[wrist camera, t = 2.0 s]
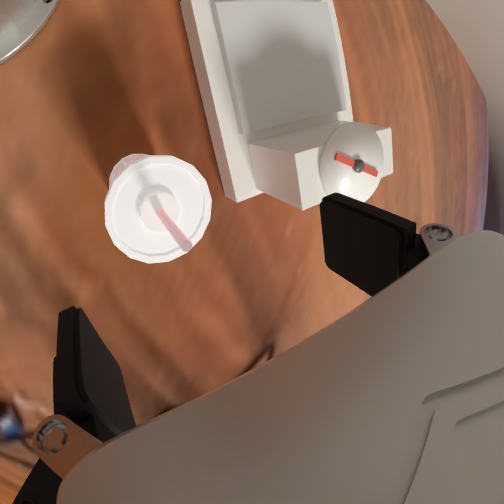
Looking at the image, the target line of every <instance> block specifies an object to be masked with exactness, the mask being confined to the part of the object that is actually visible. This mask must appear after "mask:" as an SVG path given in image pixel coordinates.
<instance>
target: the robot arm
mask: <svg viewBox="0 0 504 504" xmlns="http://www.w3.org/2000/svg"><path fill="white" fill-rule="evenodd" d="M47 1H49V0H0V64H1V63H3V62H5V61H6V60H8V59H9V58H10V57H12V56H14V55H15V54H16V53H18V52H19V51H20V50H21V49H22V48H23V47H25V46H26V45H27V44H28V43H29V42H30V41H31V40H32V39H33V38H34V37H35V36H36V35H37V34H38V33H39V32H40V30H41V29H42V28H43V26H44V25H45V24H46V22H47V21H48V20H49V18H50V17H51V15H52V13H53V12H54V10H55V8H56V7H57V4H58V2H59V0H52V1H51V2H50V3H47ZM320 215H321V224H322V233H323V243H324V254H325V262H326V265H327V266H328V268H329V269H331V270H332V271H334V272H335V273H337V274H339V275H340V276H342V277H343V278H345V279H346V280H348V281H349V282H351V283H352V284H354V285H355V286H357V287H358V288H360V289H361V290H363V291H364V292H366V293H367V294H369V295H370V296H372V297H371V298H369V299H368V300H366V301H365V302H363V303H362V304H360V305H359V306H357V307H356V308H354V309H353V310H351V311H350V312H348V313H347V314H345V315H344V316H342V317H340V318H339V319H337V320H336V321H334V322H333V323H331V324H329V325H328V326H326V327H325V328H323V329H321V330H320V331H318V332H316V333H315V334H313V335H312V336H310V337H308V338H307V339H305V340H303V341H302V342H300V343H298V344H296V345H295V346H293V347H291V348H290V349H288V350H286V351H284V352H283V353H281V354H279V355H277V356H276V357H274V358H272V359H270V360H269V361H267V362H265V363H263V364H261V365H260V366H258V367H256V368H254V369H252V370H250V371H249V372H247V373H245V374H243V375H241V376H239V377H237V378H235V379H234V380H232V381H230V382H228V383H226V384H224V385H222V386H220V387H218V388H216V389H214V390H212V391H210V392H208V393H206V394H204V395H202V396H200V397H198V398H196V399H194V400H191V401H189V402H187V403H185V404H183V405H181V406H179V407H177V408H175V409H172V410H170V411H168V412H166V413H164V414H162V415H159V416H157V417H155V418H153V419H151V420H149V421H147V422H145V423H143V424H140V425H138V426H136V424H135V421H134V417H133V414H132V410H131V407H130V403H129V400H128V396H127V392H126V388H125V384H124V380H123V376H122V372H121V369H120V367H119V365H118V363H117V361H116V360H115V359H114V357H113V356H112V354H111V353H110V351H109V350H108V348H107V347H106V345H105V344H104V343H103V341H102V340H101V338H100V336H99V335H98V333H97V332H96V330H95V329H94V327H93V326H92V324H91V322H90V321H89V319H88V318H87V316H86V314H85V313H84V311H83V310H82V308H78V309H76V308H75V307H74V306H72V307H70V308H68V309H65V310H63V311H61V312H59V317H58V332H57V356H56V357H55V358H54V361H53V402H54V415H51V416H48V417H47V418H45V419H44V420H42V421H41V423H40V424H39V425H38V426H37V428H36V430H35V432H34V435H33V443H32V444H33V448H34V451H35V453H36V454H37V456H38V457H39V460H38V461H37V463H36V464H35V466H34V468H33V469H32V471H31V473H30V474H29V476H28V478H27V479H26V481H25V483H24V484H23V486H22V488H21V489H20V491H19V493H18V495H17V496H16V498H15V500H14V502H13V504H504V235H502V234H499V233H497V232H493V231H489V230H486V231H485V230H484V231H476V232H472V233H468V234H465V235H463V236H461V237H459V236H458V235H457V233H456V232H455V231H454V230H453V229H452V228H451V227H449V226H446V225H443V224H436V223H432V224H427V225H424V226H423V227H422V228H421V229H420V235H419V234H417V233H416V223H415V222H412V221H410V220H407V219H405V218H402V217H400V216H398V215H395V214H393V213H390V212H388V211H385V210H382V209H380V208H377V207H375V206H372V205H370V204H367V203H364V202H362V201H359V200H356V199H354V198H351V197H348V196H345V195H343V194H340V193H336V192H335V193H332V194H330V195H327V196H325V197H323V198H322V202H321V203H320Z"/></svg>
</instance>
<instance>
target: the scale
mask: <svg viewBox="0 0 504 504" xmlns="http://www.w3.org/2000/svg"><path fill="white" fill-rule="evenodd" d="M180 6H181V11H182V15H183V20H184V24H185V29H186V33H187V38H188V42H189V46H190V51H191V55H192V59H193V64H194V68H195V72H196V77H197V81H198V85H199V89H200V94H201V98H202V102H203V106H204V111H205V115H206V119H207V123H208V127H209V132H210V136H211V140H212V144H213V148H214V152H215V157H216V161H217V165H218V169H219V173H220V177H221V181H222V185H223V189H224V193H225V196H227V197H228V198H230V199H232V200H233V201H235V202H237V203H238V202H240V201H243V200H245V199H248V198H250V197H253V196H256V195H258V194H261V193H266V194H268V195H271V196H273V197H275V198H277V199H279V200H281V201H283V202H286V203H288V204H290V205H292V206H294V207H296V208H298V209H300V210H302V211H303V210H305V209H307V208H310V207H312V206H314V205H317V204H319V203H321V202H322V198H323V197H325V196H327V195H330V194H332V193H335V192H336V193H340V194H343V195H345V196H348V197H351V198H354V199H356V200H359V201H362V202H365V201H366V200H367V199H368V198H369V197H370V196H371V195H372V194H373V193H374V191H375V190H376V188H377V186H378V184H379V182H380V179H381V178H382V177H384V176H387V175H389V174H392V173H393V157H392V137H391V128H389V127H383V126H377V125H370V124H364V123H360V122H353V116H352V108H351V100H350V92H349V85H348V79H347V72H346V66H345V60H344V54H343V49H342V43H341V38H340V33H339V28H338V23H337V19H336V14H335V9H334V5H333V1H332V0H181V1H180Z"/></svg>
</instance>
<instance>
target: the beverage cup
mask: <svg viewBox="0 0 504 504" xmlns="http://www.w3.org/2000/svg"><path fill="white" fill-rule="evenodd" d="M211 203H212V199H211V196H210V192H209V189H208V186H207V183H206V180H205V179H204V178H203V177H202V175H201V174H200V173H199V172H198V171H197V170H196V169H195V167H194V166H193V165H191V164H189V163H187V162H185V161H182V160H180V159H178V158H176V157H173V156H170V155H146V154H131V155H129V156H127V157H124V158H122V159H121V160H120V161H119V162H118V163H117V164H116V165H115V166H114V168H113V170H112V172H111V175H110V177H109V191H108V194H107V196H106V199H105V226H106V228H107V230H108V232H109V234H110V237H111V239H112V241H113V243H114V245H115V246H116V247H118V248H119V249H120V250H121V251H122V252H124V253H125V254H126V255H127V256H128V257H129V258H132V259H136V260H139V261H142V262H146V263H159V262H169V261H171V260H173V259H175V258H177V257H179V256H181V255H183V254H185V253H187V252H188V251H190V250H191V248H192V247H193V246H194V245H195V244H196V243H197V242H198V241H199V240H200V239H201V238H202V236H203V234H204V231H205V229H206V227H207V225H208V223H209V221H210V214H211Z"/></svg>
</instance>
